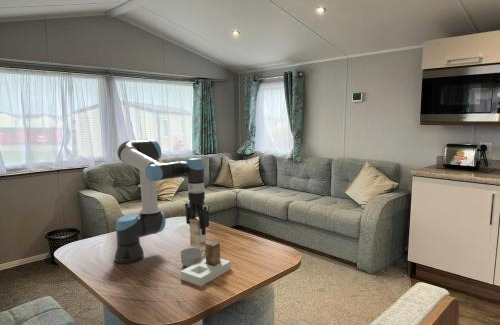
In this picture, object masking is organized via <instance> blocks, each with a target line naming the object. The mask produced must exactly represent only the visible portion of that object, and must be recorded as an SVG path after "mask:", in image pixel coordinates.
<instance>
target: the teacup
mask: <svg viewBox="0 0 500 325" xmlns="http://www.w3.org/2000/svg"><path fill="white" fill-rule="evenodd" d="M203 252H204V254H203ZM179 254H180V260H181V261H180V262H181V264H182V265H183V266H184V267H185V268H188V267H190V266H192V265H194V264H196V263H198V262H200V261H202V260H204V259H205V258H206V248H202V249H201V248H195V247H188V248H184V249H182V250H180V253H179ZM202 254H203V255H202Z"/></svg>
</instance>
